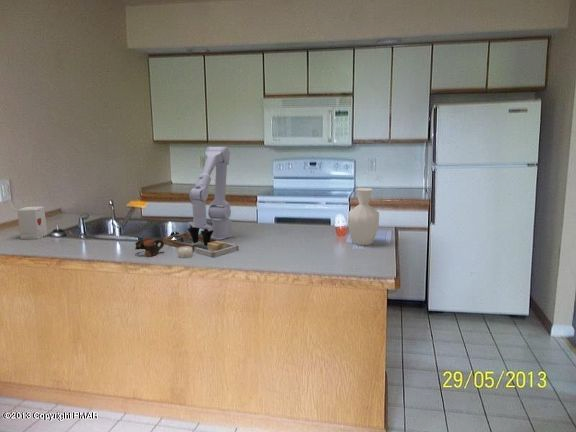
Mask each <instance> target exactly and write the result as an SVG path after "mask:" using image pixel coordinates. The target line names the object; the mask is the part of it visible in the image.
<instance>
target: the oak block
mask: <svg viewBox="0 0 576 432" xmlns="http://www.w3.org/2000/svg"><path fill="white" fill-rule="evenodd" d="M226 243H227V242H225V241H221V240H217V241H214V242H210V243H207V244H208V245H207V250H209V251H213V252H214V251H218V250H221V249H225V248H226Z"/></svg>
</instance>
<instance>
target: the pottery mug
mask: <svg viewBox="0 0 576 432" xmlns="http://www.w3.org/2000/svg"><path fill="white" fill-rule="evenodd" d="M159 243H160V245H159ZM134 244H135V250H145V252H144V255H145V258H149V257H151V256H157V255H159V252H160V250H162V249H163V248H164V246H165V244H164V242H163V240H162V238H158V239H155V240H153V238H152V237H146V238H143V239H142V238H141V239H140V240H138V241H136V242H135V243H134Z"/></svg>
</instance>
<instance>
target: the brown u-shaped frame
mask: <svg viewBox="0 0 576 432" xmlns="http://www.w3.org/2000/svg"><path fill="white" fill-rule="evenodd" d="M176 236H181V237H182V238H183V239H182V240H184V239H189V240H192V237H191V234H190V232H189V231H188V232H187V231H185V232H182V233H178V234H174V235H170V236H169V235H168V236H165V237H161V240H163V242H164V245H167V246H169V247H170V246H171V247H174V248H177V249H178V248H179V247H183V246H190V247H192V251H193V252H195V245H193V244H191V243H186V242H182V241H180V240H177V241H175V240H171V239H172V238H173V237H176ZM214 241H218V240H217V239H213V238H210V242H214ZM198 242H202V243H204V241H203V236H202V235H199V234H198ZM210 242H209V243H210Z"/></svg>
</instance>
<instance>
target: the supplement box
mask: <svg viewBox="0 0 576 432" xmlns="http://www.w3.org/2000/svg"><path fill="white" fill-rule="evenodd" d="M45 210H46V209H45V206H40V205H39V206H25V207H22V208H19V209H17V211H16V212H17V219H18V226H19V234H20V240H39V239H41V238H43V236H44V237H46V236H47V235H48V229H47V221H46V212H45ZM45 235H46V236H45Z"/></svg>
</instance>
